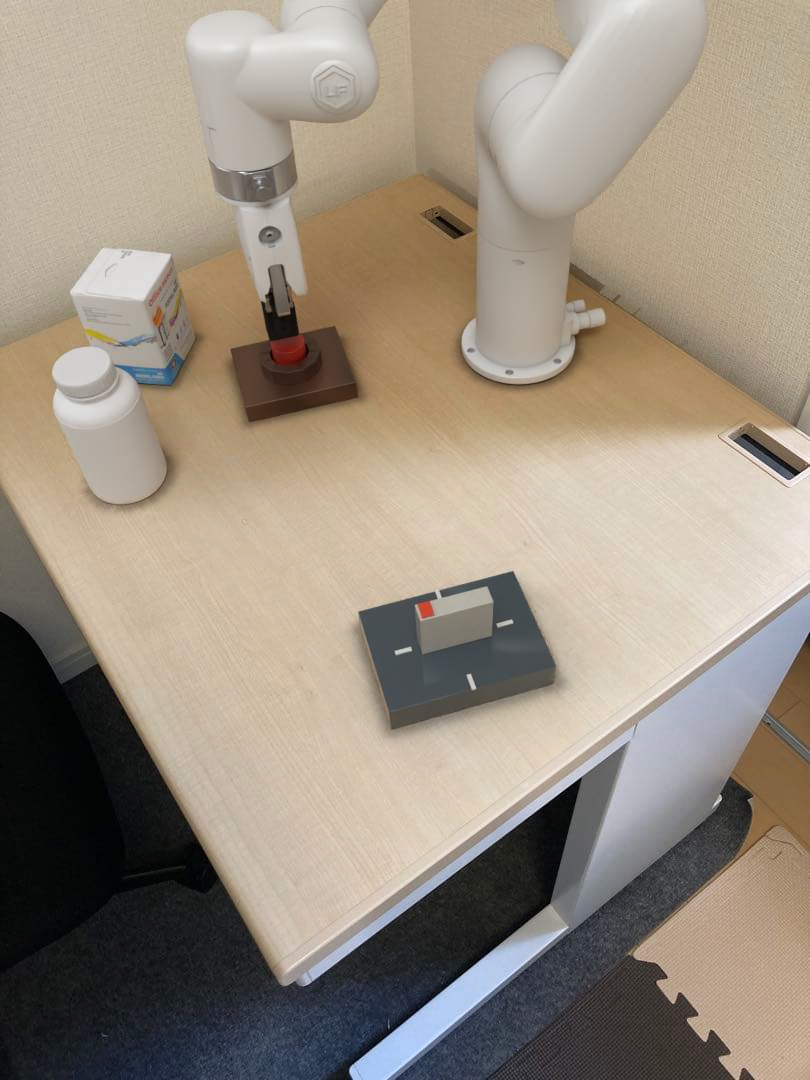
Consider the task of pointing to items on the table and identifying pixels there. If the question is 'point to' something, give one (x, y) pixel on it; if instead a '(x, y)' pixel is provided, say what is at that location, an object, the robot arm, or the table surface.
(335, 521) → the table surface
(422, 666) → the rotary knob panel
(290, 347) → the button
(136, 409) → the pill bottle
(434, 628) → the beige rectangular block
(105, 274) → the ink box
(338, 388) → the button block
